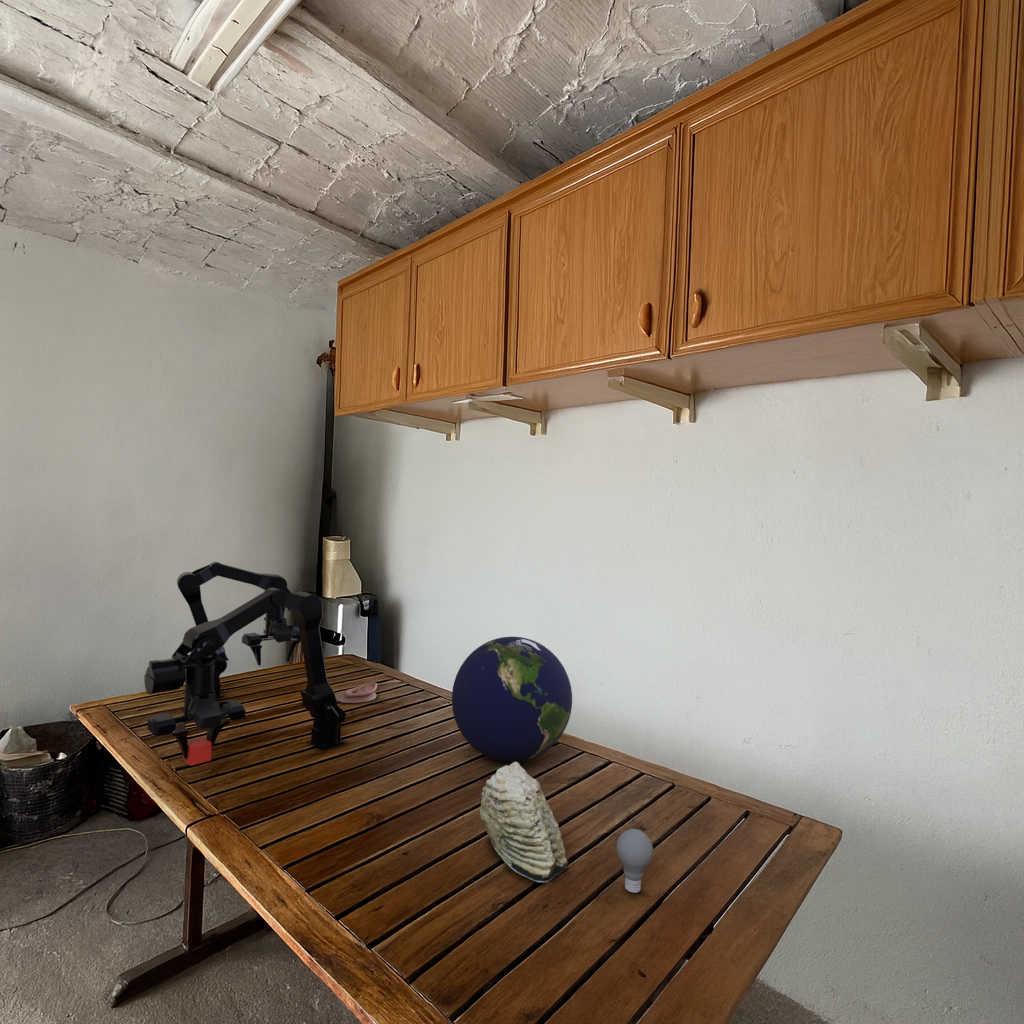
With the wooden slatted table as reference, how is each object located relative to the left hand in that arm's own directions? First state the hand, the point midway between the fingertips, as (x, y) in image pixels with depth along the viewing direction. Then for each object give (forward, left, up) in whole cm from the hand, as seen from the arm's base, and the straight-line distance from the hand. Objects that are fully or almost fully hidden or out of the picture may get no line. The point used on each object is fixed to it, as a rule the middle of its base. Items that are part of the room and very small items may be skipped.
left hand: (273, 663), depth 202 cm
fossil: (+102, -58, -9) cm, 118 cm away
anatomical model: (+27, +5, -9) cm, 29 cm away
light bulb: (+123, -61, -9) cm, 137 cm away
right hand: (+27, -58, -4) cm, 64 cm away
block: (+27, -57, -5) cm, 64 cm away
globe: (+86, -18, -9) cm, 89 cm away
